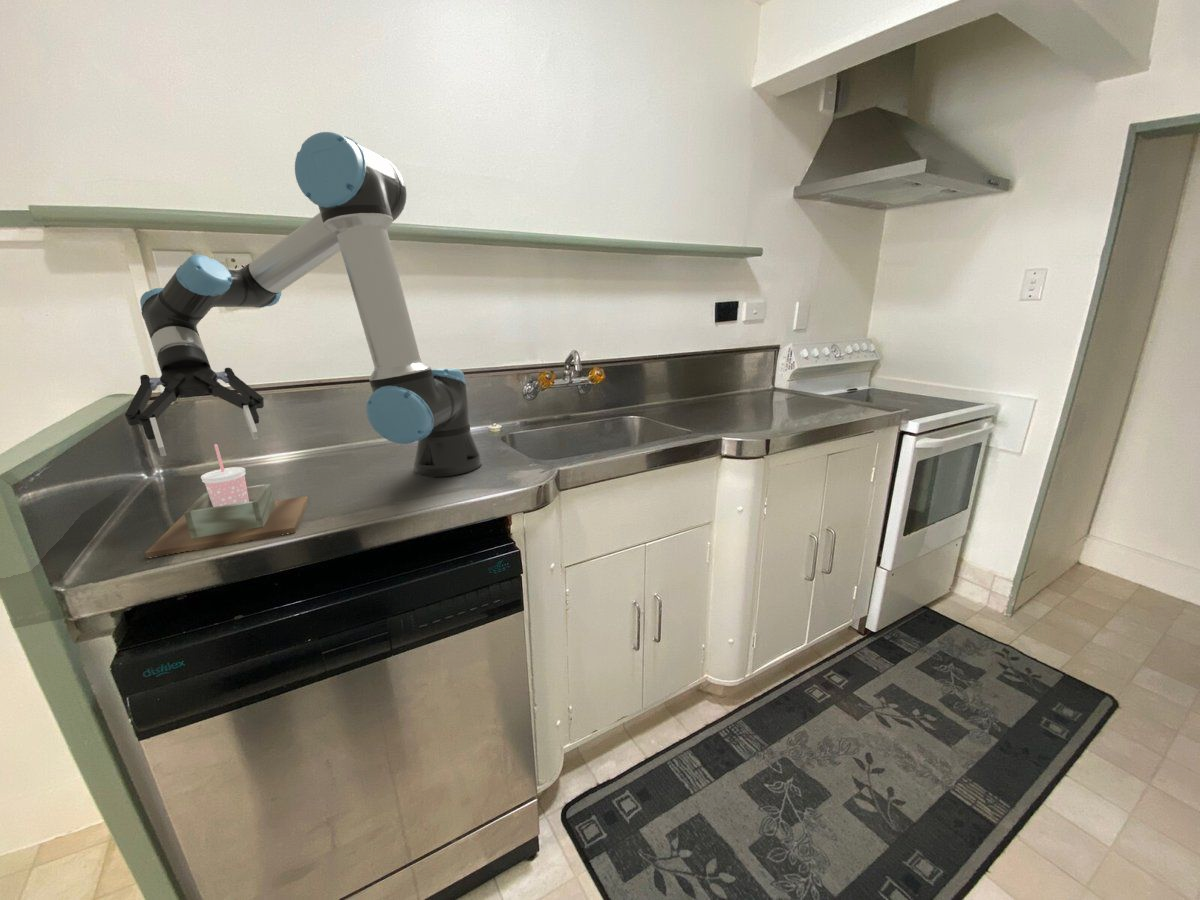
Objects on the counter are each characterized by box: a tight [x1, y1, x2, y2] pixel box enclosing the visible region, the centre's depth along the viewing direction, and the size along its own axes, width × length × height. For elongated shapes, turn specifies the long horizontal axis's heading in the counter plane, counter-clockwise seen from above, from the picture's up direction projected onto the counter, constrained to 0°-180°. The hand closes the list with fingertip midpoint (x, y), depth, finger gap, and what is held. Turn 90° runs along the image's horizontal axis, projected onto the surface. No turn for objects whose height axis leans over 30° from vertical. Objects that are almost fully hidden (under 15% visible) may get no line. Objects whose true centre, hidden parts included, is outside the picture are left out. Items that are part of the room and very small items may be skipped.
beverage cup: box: [200, 443, 249, 507], centre depth 84 cm, size 6×6×14 cm
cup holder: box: [144, 483, 309, 558], centre depth 85 cm, size 20×16×6 cm
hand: (211, 443), depth 89 cm, fingers open, 13 cm apart
